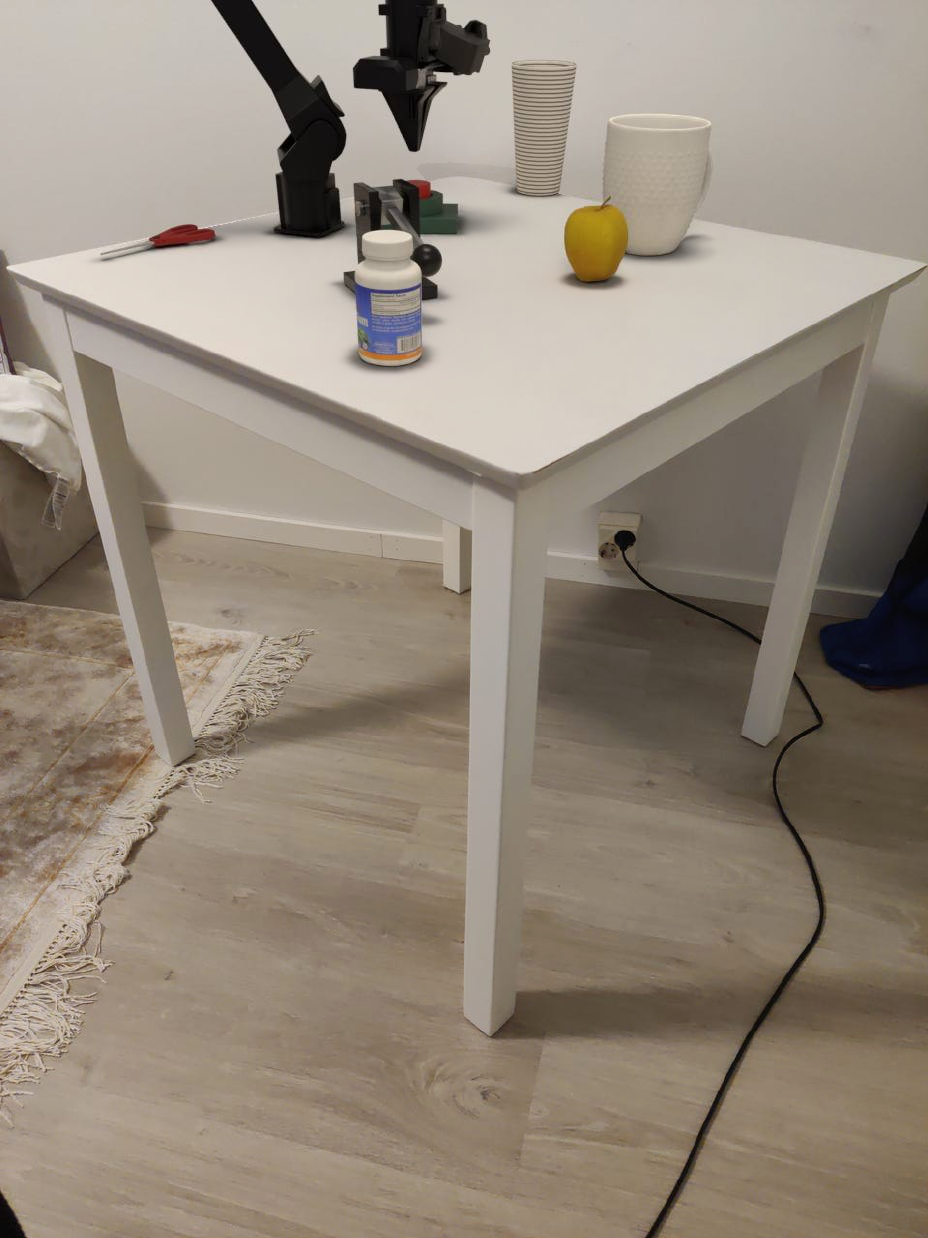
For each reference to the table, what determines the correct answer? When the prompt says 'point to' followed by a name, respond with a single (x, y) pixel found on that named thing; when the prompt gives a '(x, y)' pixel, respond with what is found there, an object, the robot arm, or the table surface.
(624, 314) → the table surface
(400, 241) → the pill bottle
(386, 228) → the button box
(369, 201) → the bracket
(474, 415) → the table surface
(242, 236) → the table surface
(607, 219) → the apple
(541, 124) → the cup
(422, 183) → the button
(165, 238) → the scissors
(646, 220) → the mug
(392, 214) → the lever
